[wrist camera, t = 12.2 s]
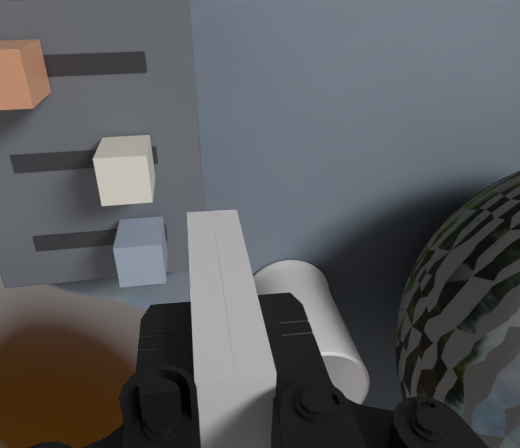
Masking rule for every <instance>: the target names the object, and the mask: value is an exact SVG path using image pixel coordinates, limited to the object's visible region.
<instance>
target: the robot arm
mask: <svg viewBox="0 0 520 448" xmlns="http://www.w3.org/2000/svg"><path fill="white" fill-rule="evenodd" d="M187 228H188V250H189V272H190V294H191V302H181V303H168V304H156V305H150V307H149V308H148V310H147V311H146V313H145V314H144V316H143V317H142V319H141V324H140V334H139V337H140V338H139V344H138V355H137V365H136V373H135V374H134V375H132V376H131V377H130V379H129V380H128V381H127V382H126V383H125V384H124V385H123V388H122V390H121V393H120V396H119V400H120V406H121V411H122V417H123V423H122V425H121V426H120V427H119V428H118V429H117V430H115V431H114V432H113V433H111V434H110V435H109V436H107V437H105V438H103V439H101V440H99V441H97V442H94V443H92V444H90V445H87V446H85V447H82V448H489V447H488V446H487V445H486V444H485V443H484V441H483V440H482V439H481V438H480V437H479V436H478V435H477V434H476V433H475V432H474V431H473V430H472V428H471V427H470V426H469V425H468V424H467V423H466V422H465V421H464V420H463V419H462V418H461V416H460V415H459V414H458V413H456V412H455V411H454V410H453V409H452V408H450V407H449V406H448V405H447V404H445V403H442V402H440V401H438V400H436V399H434V398H429V397H423V396H416V397H410V398H406V399H405V400H403V401H402V402H400V403H398V405H397V407H396V409H395V411H391V410H385V409H379V408H373V407H368V406H364V405H360V404H357V403H355V402H353V401H351V400H349V399H348V398H346V397H345V396H344V394H343V392H342V391H340V390H339V389H338V388H336V387H335V386H334V385H333V383H332V381H331V379H330V377H329V374H328V372H327V369H326V366H325V363H324V361H323V358H322V355H321V353H320V350H319V347H318V345H317V342H316V339H315V336H314V334H313V332H312V328H311V326H310V323H309V322H308V317H307V315H306V312H305V309H304V307H303V304H302V303H301V302H300V301H299V300H298V299H297V298H296V297H294V296H293V295H292V294H291V293H290V292H288V293H275V294H263V295H257V291H256V287H255V283H254V279H253V275H252V271H251V267H250V263H249V259H248V255H247V250H246V246H245V242H244V238H243V234H242V230H241V226H240V222H239V218H238V214H237V210H221V211H203V212H187ZM29 448H71V447H70V446H69V445H67V444H63V443H60V442H57V441H55V442H44V443H39V444H36V445H34V446H31V447H29Z"/></svg>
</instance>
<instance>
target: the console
mask: <svg viewBox="0 0 520 448" xmlns="http://www.w3.org/2000/svg"><path fill="white" fill-rule="evenodd" d="M30 39H39V40H40V44H41V49H42V53H43V58H44V62H45V67H46V71H47V76H48V81H49V85H50V90H51V93H49V94H48V95H47V96H46V97H45V98H44V99H43V100H42V101H41V102H40V103H39V104H38V105H37V106H36V107H34V108H33V109H14V110H0V274H1V277H2V280H3V283H4V286H5V288H10V287H21V286H31V285H42V284H52V283H63V282H73V281H84V280H94V279H105V278H115V277H118V273H117V267H116V262H115V257H114V251H113V247H114V242H115V238H116V234H117V229H118V225H119V221H120V220H122V219H135V218H147V217H160V216H163V221H164V229H165V237H166V245H167V273H168V272H178V271H189V250H188V228H187V212H203V211H205V205H204V192H203V179H202V165H201V152H200V139H199V126H198V113H197V99H196V86H195V73H194V60H193V47H192V33H191V20H190V7H189V0H0V40H30ZM136 135H150V139H151V147H152V155H153V163H154V170H155V186H154V195H153V202H151V203H137V204H124V205H111V206H102V205H101V200H100V194H99V189H98V184H97V179H96V173H95V168H94V163H93V157H94V155H95V153H96V151H97V148H98V146H99V144H100V142H101V140H102V137H119V136H136Z"/></svg>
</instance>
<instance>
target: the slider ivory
mask: <svg viewBox="0 0 520 448" xmlns="http://www.w3.org/2000/svg"><path fill="white" fill-rule="evenodd" d="M93 163H94V168H95V173H96V179H97V184H98V189H99V194H100V200H101V205H102V206H111V205H124V204H137V203H151V202H153V195H154V186H155V170H154V163H153V155H152V147H151V139H150V135H136V136H119V137H102V140H101V142H100V144H99V146H98V148H97V151H96V153H95V155H94V157H93Z"/></svg>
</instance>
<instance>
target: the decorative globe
mask: <svg viewBox="0 0 520 448" xmlns="http://www.w3.org/2000/svg"><path fill="white" fill-rule="evenodd" d="M396 366H397V373H398V380H399V384H400V389H401V395H402V398H403V400H405V399H406V398H410V397H416V396H423V397H429V398H434V399H436V400H438V401H440V402H442V403H445V404H447V405H448V406H449V407H450V408H452V409H453V410H454V411H455V412H456V413H458V414H459V415H460V416H461V418H462V419H463V420H464V421H465V422H466V423H467V424H468V425H469V426H470V427H471V428H472V430H473V431H474V432H475V433H476V434H477V435H478V436H479V437H480V438H481V439H482V440H483V441H484V443H485V444H486V445H487V446H488V447H489V448H520V171H518V172H516V173H514V174H512V175H510V176H508V177H506V178H503V179H501V180H499V181H498V182H496V183H494V184H493V185H491V186H489V187H487V188H486V189H484V190H483V191H481V192H480V193H478V194H476V195H475V196H474V197H472V198H471V199H470V200H468V201H467V202H466V203H465V204H464V205H462V206H461V207H460V208H459V209H458V210H456V211H455V212H454V213H453V214H452V215H451V216H450V217H449V218H448V219H447V220H446V221H445V222H444V224H443V225H442V226H441V227H440V228H439V229H438V230H437V231H436V232H435V233H434V235H433V236H432V237H431V239H430V240H429V242H428V243H427V245H426V246H425V248H424V249H423V251H422V252H421V254H420V255H419V257H418V259H417V261H416V263H415V264H414V267H413V269H412V271H411V273H410V275H409V277H408V280H407V283H406V286H405V289H404V292H403V295H402V298H401V303H400V307H399V312H398V316H397V325H396Z"/></svg>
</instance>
